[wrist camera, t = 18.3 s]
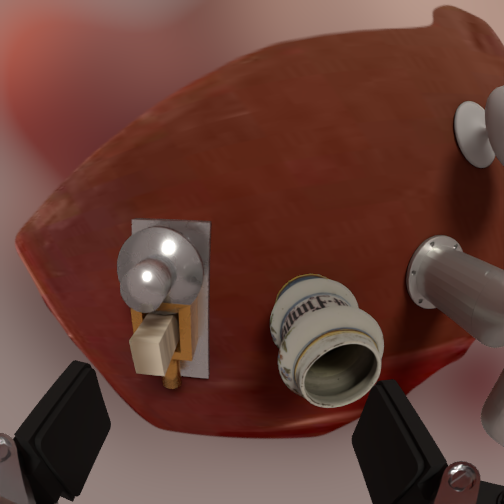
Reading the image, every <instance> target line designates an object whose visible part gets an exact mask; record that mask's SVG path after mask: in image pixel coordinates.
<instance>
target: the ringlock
mask: <svg viewBox="0 0 504 504" xmlns="http://www.w3.org/2000/svg"><path fill="white" fill-rule="evenodd" d="M210 247H211V221H196V220H173V219H146V218H135V219H132V236H130V237H129V238H128V239H127V240H126V242H125V243H124V244H123V246H122V248H121V250H120V253H119V256H118V261H117V273H118V278H119V281H120V291H121V295H122V298H123V299H124V301H125V303H126V304H127V305H128V306H129V307H130V308H131V315H132V324H133V332H134V333H135V331H136V330H137V329H138V327H139V326H140V324H141V323H142V321H143V320H144V319H145V317H146V316H147V314H148V313H149V312H150V313H154V314H159V315H169V314H175V313H179V330H180V339H179V341H178V344H177V346H176V349H175V351H174V354H173V356H172V359H171V361H170V364H169V366H168V369H167V371H166V374H165V376H162V381H163V385H164V386H165V387H166V388H169V389H175V388H178V387H180V386H181V384H182V382H181V376H187V377H197V378H208V379H209V373H210V370H209V291H210Z"/></svg>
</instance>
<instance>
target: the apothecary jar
mask: <svg viewBox="0 0 504 504" xmlns="http://www.w3.org/2000/svg"><path fill="white" fill-rule="evenodd" d="M270 331H271V336H272V338H273V341H274V343H275V344H276V346H277V347H278V348H279V354H278V368H279V373H280V376H281V378H282V380H283V381H284V383H285V384H286V386H287V387H288V388H289V389H290V390H291V391H293V392H294V393H296V394H298V395H299V396H301V397H304V398H306V399H307V400H308V401H309V402H310V403H312V404H314V405H316V406H319V407H325V408H333V407H340V406H344V405H347V404H350V403H352V402H354V401H356V400H358V399H359V398H361V397H362V396H364V395H365V394H366V393H367V392H368V391H369V390H370V389H371V388H372V387H373V385H374V384H375V383H376V381H377V379H378V377H379V375H380V371H381V359H382V355H383V350H384V340H383V335H382V332H381V329H380V327H379V325H378V324H377V322H376V321H375V320H374V319H373V318H372V317H371V316H370V315H369V314H367V313H366V312H364V311H363V310H361V309H359V308H358V304H357V301H356V299H355V297H354V296H353V294H352V293H351V292H350V290H349V289H347V288H346V287H345V286H344V285H342V284H340V283H338V282H336V281H333V280H330V279H327V278H326V277H324V276H321V275H317V274H305V275H300V276H297V277H295V278H293V279H292V280H290V281H289V282H287V283H286V284H285V285H284V286H283V288H282V289H281V290H280V292H279V294H278V295H277V298H276V302H275V306H274V308H273V310H272V313H271V317H270Z"/></svg>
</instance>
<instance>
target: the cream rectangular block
mask: <svg viewBox="0 0 504 504" xmlns="http://www.w3.org/2000/svg"><path fill="white" fill-rule="evenodd" d="M179 339H180V330H179V313H175V314H169V315H159V314H154V313H150V312H149V313H148V314H147V316H146V317H145V319H144V320H143V321H142V323H141V324H140V326H139V327H138V329H137V330H136V331H135V333H134V334H133V336H132V337H131V339H130V340H129V343H130V347H131V352H132V357H133V361H134V365H135V370H136V373H139V374H148V375H157V376H165V374H166V371H167V369H168V366H169V364H170V361H171V359H172V356H173V354H174V351H175V349H176V346H177V344H178V341H179Z"/></svg>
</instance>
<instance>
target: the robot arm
mask: <svg viewBox="0 0 504 504" xmlns="http://www.w3.org/2000/svg"><path fill="white" fill-rule="evenodd" d="M406 284H407V290H408V293H409V295H410V297H411V299H412V300H413V301H414V302H415V303H416V304H417V305H418V306H420V307H422V308H426V309H433V308H438V309H439V310H440V311H442V312H443V313H444V314H446V315H447V316H448V317H449V318H451V319H452V320H453V321H455V322H456V323H457V324H458V325H460V326H461V327H462V328H463V329H465V330H466V331H467V332H468V333H469V334H471V335H472V336H473V337H474V338H476V339H477V340H478V341H479V342H481V343H482V344H484V345H486V346H489V347H493V348H496V347H503V346H504V270H502V269H500V268H498V267H495V266H493V265H491V264H489V263H486V262H484V261H482V260H480V259H477V258H475V257H473V256H470V255H468V254H465V253H463V251H462V248H461V247H460V245H459V243H458V242H457V241H456V240H454V239H453V238H451V237H448V236H445V235H436V236H433V237H430V238H429V239H427V240H426V241H424V242H423V243H422V244H421V245H420V246H419V247H418V248H417V250H416V251H415V253H414V254H413V256H412V258H411V260H410V263H409V266H408V270H407V277H406ZM481 422H482V425H483V428H484V430H485V431H486V432H487V434H488V435H489V436H490V437H491V438H492V439H493V440H495V441H496V442H497V443H499V444H500V445H502V446H503V447H504V369H503V371H502V373H501V374H500V376H499V378H498V380H497V382H496V383H495V385H494V387H493V388H492V391H491V392H490V394H489V396H488V398H487V399H486V401H485V403H484V405H483V408H482V412H481ZM110 427H111V422H110V418H109V416H108V413H107V409H106V406H105V403H104V400H103V397H102V394H101V391H100V387H99V383H98V380H97V376H96V372H95V370H94V369H92V368H91V365H90V364H88V363H84V362H80V361H76V360H75V361H73V362H72V363H71V364H70V365H69V366H68V367H67V369H66V370H65V371H64V372H63V373H62V374H61V376H60V377H59V378H58V379H57V381H56V382H55V383H54V384H53V385H52V387H51V388H50V389H49V390H48V391H47V393H46V394H45V395H44V397H43V398H42V399H41V400H40V401H39V403H38V404H37V405H36V407H35V408H34V409H33V410H32V412H31V413H30V414H29V416H28V417H27V418H26V420H25V421H24V422H23V423H22V425H21V426H20V427H19V429H18V430H17V431H16V433H15V434H14V435H15V437H14V439H12V438H11V437H10V436H8V435H6V434H4V433H0V504H58V500H59V498H60V496H61V497H63V498H66V499H68V500H70V501H73V500H74V498H75V496H79V495H80V493H81V491H82V489H83V486H84V484H85V482H86V480H87V478H88V475H89V473H90V471H91V469H92V466H93V464H94V462H95V460H96V458H97V456H98V454H99V451H100V449H101V447H102V445H103V443H104V441H105V439H106V437H107V435H108V432H109V430H110ZM352 445H353V448H354V451H355V453H356V456H357V459H358V462H359V465H360V468H361V470H362V473H363V476H364V479H365V482H366V485H367V488H368V491H369V494H370V497H371V500H372V503H373V504H504V486H501V485H497V484H492V483H488V482H484V481H480V474H479V471H478V470H477V468H476V467H475V466H474V465H472V464H471V463H468V462H463V461H459V462H454V463H452V464H450V465H449V466H448V465H447V463H446V462H447V461H446V459H445V458H444V456H443V455H442V453H441V451H440V449H439V448H438V446H437V445H436V443H435V441H434V440H433V438H432V436H431V435H430V433H429V432H428V430H427V428H426V427H425V425H424V424H423V422H422V421H421V419H420V417H419V416H418V414H417V413H416V411H415V409H414V408H413V406H412V405H411V403H410V402H409V400H408V399H407V397H406V395H405V394H404V392H403V391H402V389H401V388H400V386H399V385H398V383H397V382H396V381H395V380H393V379H391V380H383V381H378V382H377V383H376V385H374V386H373V387H372V388H371V391H370V393H369V396H368V399H367V401H366V404H365V406H364V409H363V411H362V414H361V416H360V419H359V421H358V424H357V426H356V428H355V431H354V433H353V435H352Z"/></svg>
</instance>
